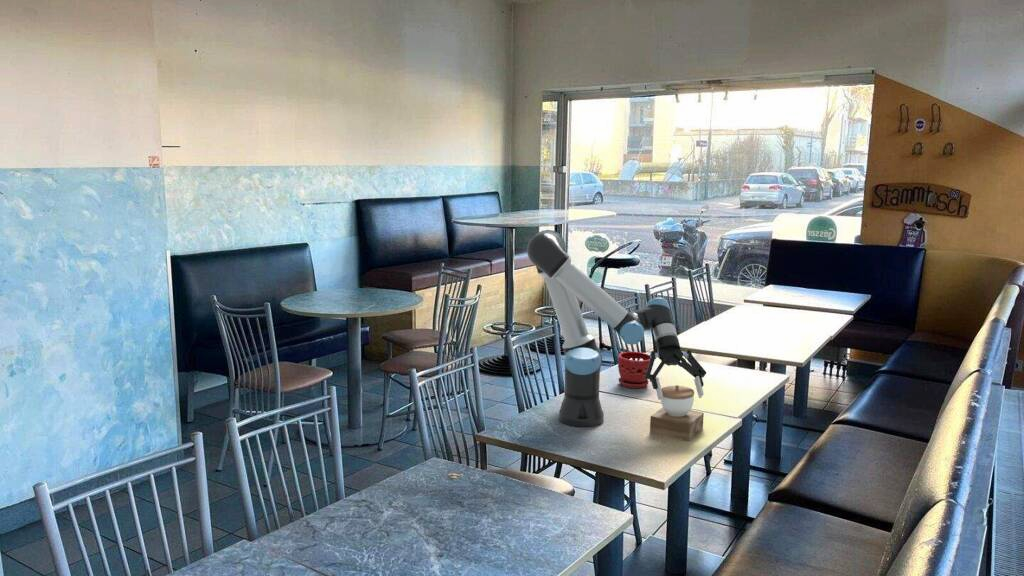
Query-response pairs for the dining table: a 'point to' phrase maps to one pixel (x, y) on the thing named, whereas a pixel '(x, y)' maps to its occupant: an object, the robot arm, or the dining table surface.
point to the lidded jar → (677, 400)
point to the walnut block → (676, 424)
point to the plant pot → (633, 369)
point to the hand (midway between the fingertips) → (681, 396)
